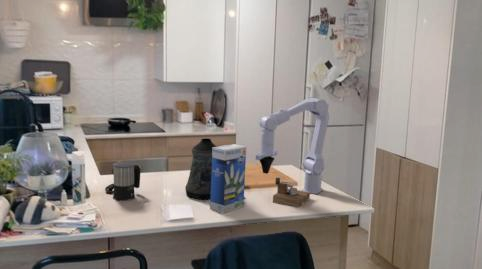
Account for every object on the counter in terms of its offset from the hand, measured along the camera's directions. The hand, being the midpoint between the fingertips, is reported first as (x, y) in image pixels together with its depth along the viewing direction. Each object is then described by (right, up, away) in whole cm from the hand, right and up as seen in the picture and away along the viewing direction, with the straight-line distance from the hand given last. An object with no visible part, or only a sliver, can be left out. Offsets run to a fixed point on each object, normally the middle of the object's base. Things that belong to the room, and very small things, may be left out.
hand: (265, 173), depth 217 cm
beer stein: (-28, -10, 0) cm, 30 cm away
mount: (+11, -12, -4) cm, 17 cm away
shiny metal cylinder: (+11, -12, -4) cm, 17 cm away
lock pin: (+8, -5, -3) cm, 10 cm away
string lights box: (-17, -13, -18) cm, 28 cm away
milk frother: (-64, -9, -7) cm, 65 cm away
